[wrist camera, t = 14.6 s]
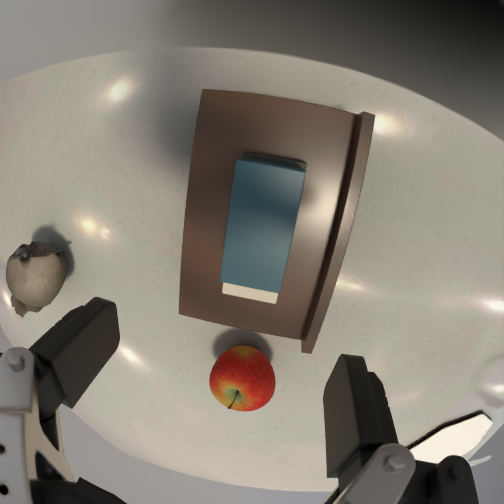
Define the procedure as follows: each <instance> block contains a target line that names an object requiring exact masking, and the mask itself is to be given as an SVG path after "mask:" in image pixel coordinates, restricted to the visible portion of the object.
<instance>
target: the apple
mask: <svg viewBox="0 0 504 504" xmlns="http://www.w3.org/2000/svg"><path fill="white" fill-rule="evenodd" d="M210 388H211V391H212V393H213V395H214V396H215V398H216V399H217V400H218V401H219V402H220V403H221V404H223V405H224V406H226V407H228V409H233V410H237V411H253V410H256V409H259V408H261V407H263V406H264V405H265V404H267V403H268V402H269V400H270V399H271V398H272V396H273V394H274V391H275V374H274V371H273V368H272V366H271V364H270V362H269V360H268V359H267V358H266V356H265V355H264V354H263V353H261V352H260V351H259V350H257V349H255V348H253V347H250V346H245V345H240V346H235V347H233V348H230V349H229V350H227V351H226V352H224V353H223V354H222V355H221V356H220V357H219V358H218V360H217V361H216V362H215V364H214V366H213V368H212V371H211V374H210Z"/></svg>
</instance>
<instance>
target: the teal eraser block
mask: <svg viewBox="0 0 504 504" xmlns="http://www.w3.org/2000/svg"><path fill="white" fill-rule="evenodd" d="M306 165H307V163H306V162H301V161H296V160H291V159H286V158H281V157H275V156H270V155H264V154H258V153H251V152H243V156H242V159H239V160H237V161H236V166H235V173H234V179H233V186H232V193H231V200H230V207H229V214H228V221H227V228H226V236H225V243H224V251H223V258H222V266H221V274H220V282H223V289H222V293H224V294H229V295H234V296H238V297H243V298H248V299H253V300H258V301H263V302H268V303H273V304H276V302H277V299H278V297H279V293H280V292H281V288H282V283H283V279H284V275H285V270H286V266H287V261H288V257H289V252H290V248H291V243H292V239H293V234H294V229H295V225H296V220H297V215H298V210H299V205H300V200H301V196H302V190H303V185H304V180H305V175H306V172H305V171H306Z"/></svg>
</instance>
